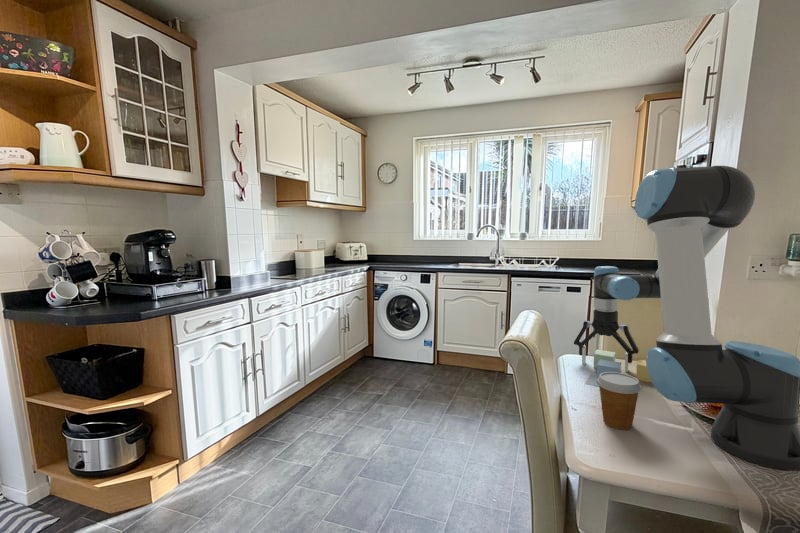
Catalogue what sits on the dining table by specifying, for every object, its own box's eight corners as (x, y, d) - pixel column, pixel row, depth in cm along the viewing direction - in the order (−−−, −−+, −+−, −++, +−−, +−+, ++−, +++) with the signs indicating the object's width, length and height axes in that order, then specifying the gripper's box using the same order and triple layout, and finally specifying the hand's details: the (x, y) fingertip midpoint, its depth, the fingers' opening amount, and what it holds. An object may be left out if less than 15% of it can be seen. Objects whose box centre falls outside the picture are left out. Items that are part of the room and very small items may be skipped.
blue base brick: (618, 387, 109) (619, 368, 109) (596, 382, 113) (597, 364, 113) (620, 380, 114) (621, 362, 114) (599, 376, 118) (600, 359, 117)
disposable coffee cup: (595, 411, 96) (596, 369, 95) (636, 418, 92) (637, 374, 91) (597, 428, 88) (598, 382, 87) (643, 437, 84) (644, 388, 83)
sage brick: (613, 373, 122) (613, 357, 122) (593, 370, 126) (593, 353, 125) (615, 368, 127) (615, 352, 127) (596, 365, 131) (596, 349, 130)
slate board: (629, 395, 105) (629, 393, 105) (584, 386, 113) (584, 383, 112) (632, 382, 115) (632, 379, 115) (591, 374, 122) (591, 372, 122)
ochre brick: (658, 386, 111) (659, 368, 111) (636, 382, 115) (636, 364, 114) (659, 380, 116) (659, 362, 116) (637, 376, 120) (638, 359, 119)
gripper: (648, 311, 120) (646, 371, 122) (570, 304, 135) (569, 358, 137) (647, 315, 114) (645, 378, 116) (565, 308, 129) (565, 363, 131)
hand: (604, 367), depth 127 cm, fingers open, 13 cm apart
